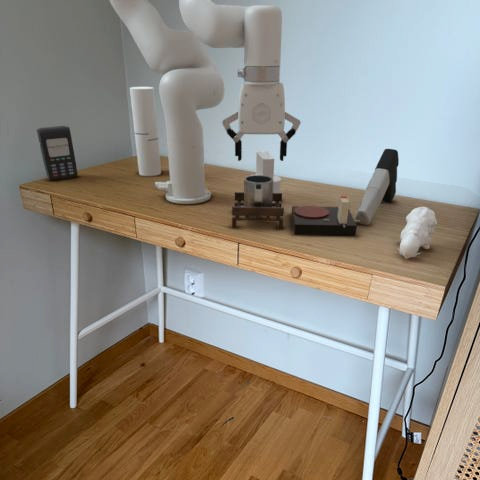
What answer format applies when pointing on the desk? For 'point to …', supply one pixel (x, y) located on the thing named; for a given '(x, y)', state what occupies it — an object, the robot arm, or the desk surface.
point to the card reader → (57, 152)
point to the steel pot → (258, 191)
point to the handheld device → (379, 186)
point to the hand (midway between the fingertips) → (260, 159)
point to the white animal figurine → (417, 231)
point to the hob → (323, 224)
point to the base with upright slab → (267, 169)
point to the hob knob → (343, 210)
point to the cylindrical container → (145, 130)
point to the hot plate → (311, 211)
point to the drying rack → (257, 211)
